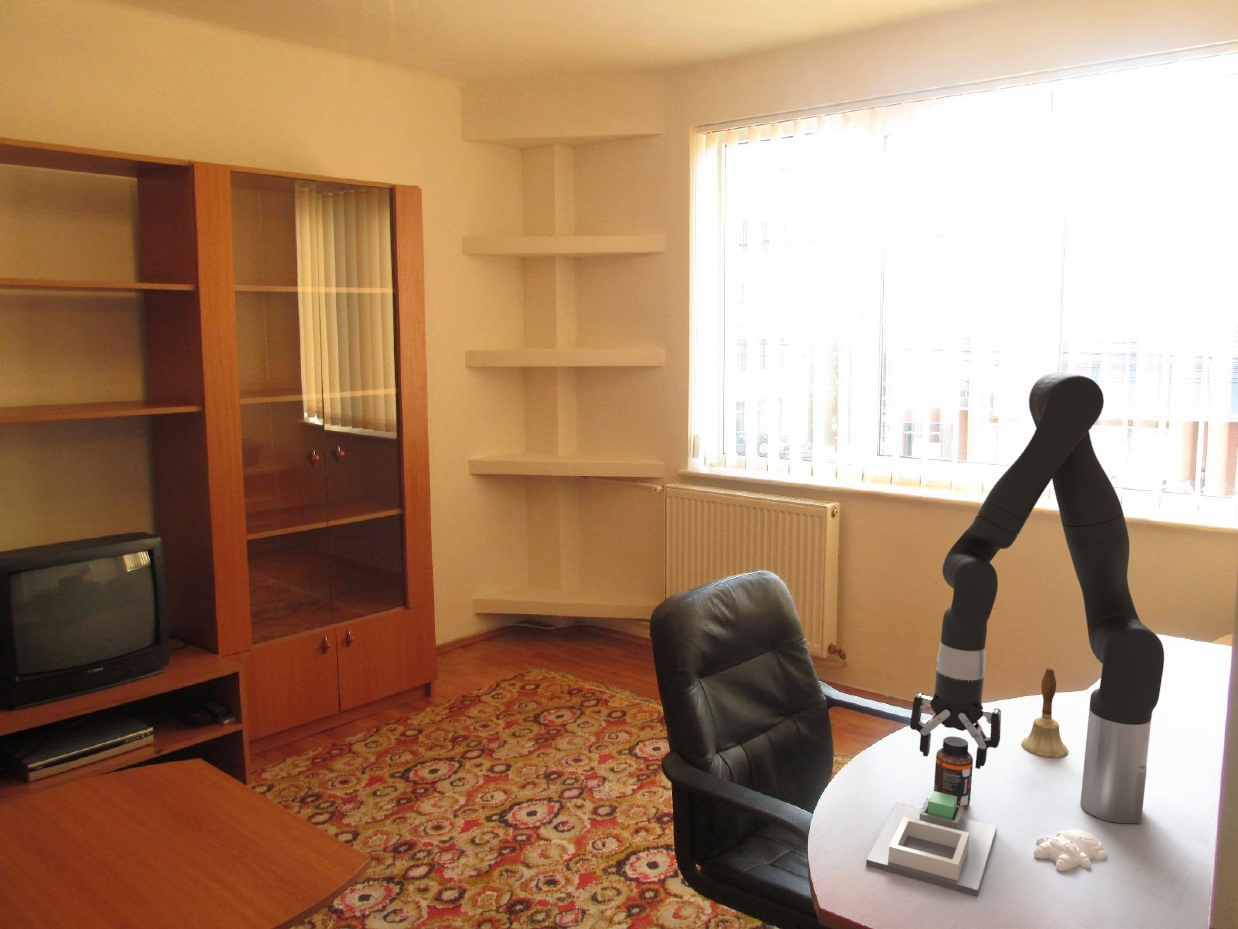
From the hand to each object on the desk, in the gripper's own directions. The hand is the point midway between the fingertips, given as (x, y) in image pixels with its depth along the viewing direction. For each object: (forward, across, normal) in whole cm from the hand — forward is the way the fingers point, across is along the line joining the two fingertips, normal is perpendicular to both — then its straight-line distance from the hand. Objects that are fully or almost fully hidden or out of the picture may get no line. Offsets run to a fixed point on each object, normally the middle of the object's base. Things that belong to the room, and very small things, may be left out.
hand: (951, 760), depth 166 cm
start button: (+5, -1, +10) cm, 11 cm away
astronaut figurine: (+8, -19, +7) cm, 22 cm away
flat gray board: (+8, -1, +16) cm, 18 cm away
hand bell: (+8, -12, -31) cm, 34 cm away
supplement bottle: (+8, -1, 0) cm, 8 cm away
